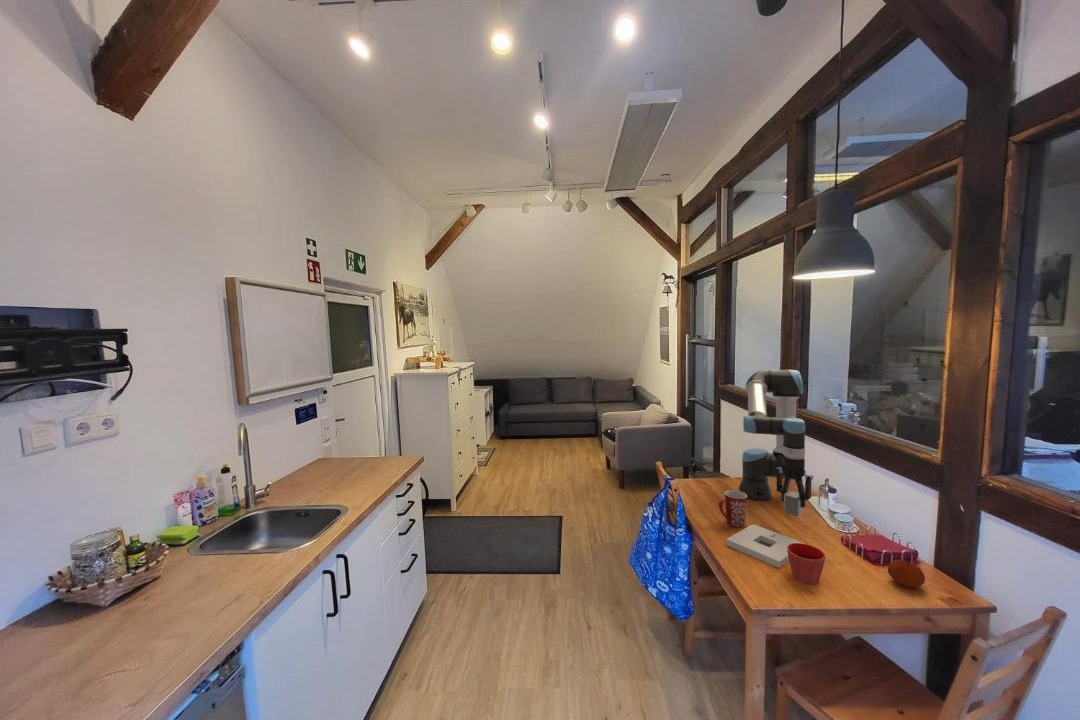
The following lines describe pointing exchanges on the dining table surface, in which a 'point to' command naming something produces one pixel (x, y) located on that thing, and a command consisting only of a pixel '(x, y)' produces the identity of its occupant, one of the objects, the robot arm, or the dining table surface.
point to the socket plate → (762, 544)
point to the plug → (791, 503)
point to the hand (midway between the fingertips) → (793, 511)
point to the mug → (734, 508)
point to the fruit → (906, 573)
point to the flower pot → (806, 562)
